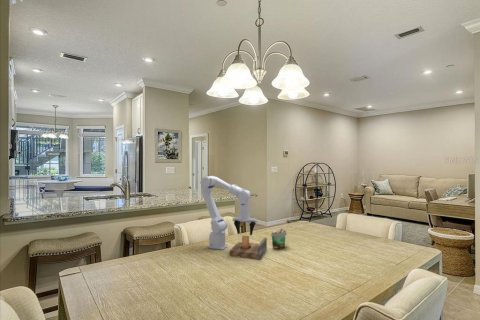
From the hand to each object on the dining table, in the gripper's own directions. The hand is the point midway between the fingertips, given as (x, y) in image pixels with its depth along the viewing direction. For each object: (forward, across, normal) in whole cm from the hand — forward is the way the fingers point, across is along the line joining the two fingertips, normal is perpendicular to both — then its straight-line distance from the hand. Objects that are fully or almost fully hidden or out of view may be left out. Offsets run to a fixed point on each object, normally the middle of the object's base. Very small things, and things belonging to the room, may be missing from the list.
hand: (244, 234), depth 154 cm
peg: (+10, +1, -2) cm, 10 cm away
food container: (+10, +19, +12) cm, 25 cm away
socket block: (+10, +3, -2) cm, 10 cm away
